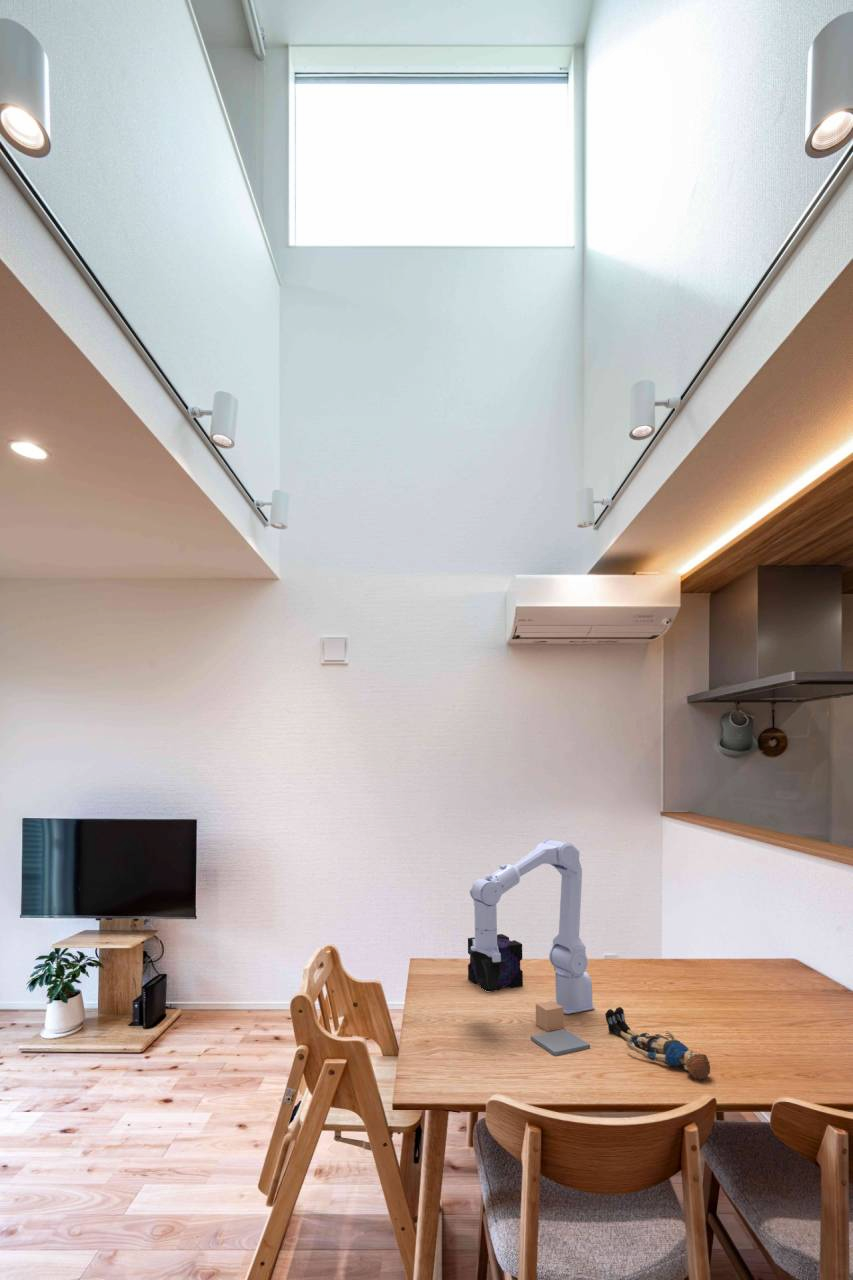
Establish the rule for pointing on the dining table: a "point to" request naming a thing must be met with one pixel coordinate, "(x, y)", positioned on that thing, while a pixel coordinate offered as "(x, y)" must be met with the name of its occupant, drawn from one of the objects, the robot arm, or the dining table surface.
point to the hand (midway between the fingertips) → (486, 983)
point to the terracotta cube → (549, 1016)
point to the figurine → (659, 1046)
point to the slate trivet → (560, 1042)
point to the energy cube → (511, 968)
